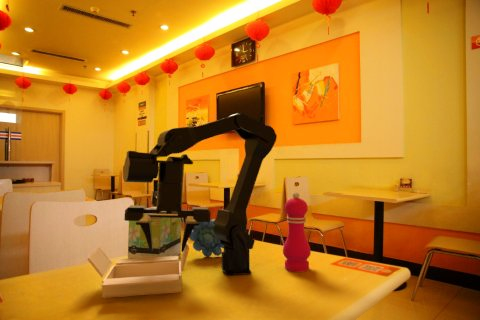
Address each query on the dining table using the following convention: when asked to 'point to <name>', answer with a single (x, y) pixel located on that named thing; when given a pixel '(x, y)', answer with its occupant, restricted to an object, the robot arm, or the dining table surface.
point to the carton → (143, 277)
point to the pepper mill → (296, 236)
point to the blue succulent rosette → (206, 239)
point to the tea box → (155, 238)
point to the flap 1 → (100, 261)
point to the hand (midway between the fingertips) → (166, 251)
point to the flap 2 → (184, 256)
